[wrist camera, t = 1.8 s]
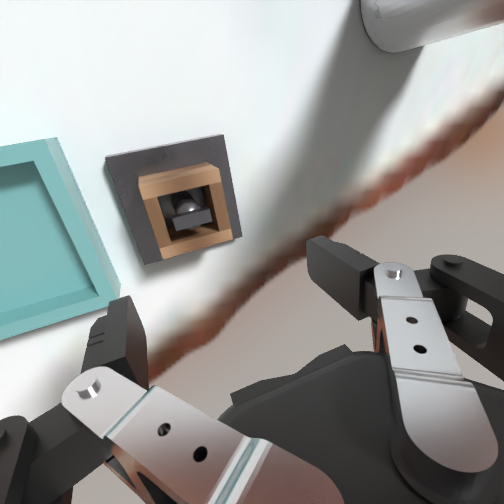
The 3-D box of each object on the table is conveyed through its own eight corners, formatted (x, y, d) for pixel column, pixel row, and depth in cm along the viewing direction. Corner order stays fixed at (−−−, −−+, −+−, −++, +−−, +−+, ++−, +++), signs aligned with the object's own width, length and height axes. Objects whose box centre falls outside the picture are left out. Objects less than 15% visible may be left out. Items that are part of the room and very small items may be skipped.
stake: (219, 134, 27) (244, 136, 20) (238, 231, 31) (263, 258, 25) (106, 155, 24) (95, 166, 18) (144, 258, 29) (146, 295, 22)
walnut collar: (206, 162, 26) (218, 168, 22) (220, 223, 28) (233, 239, 25) (138, 176, 24) (138, 186, 20) (159, 240, 27) (163, 259, 23)
